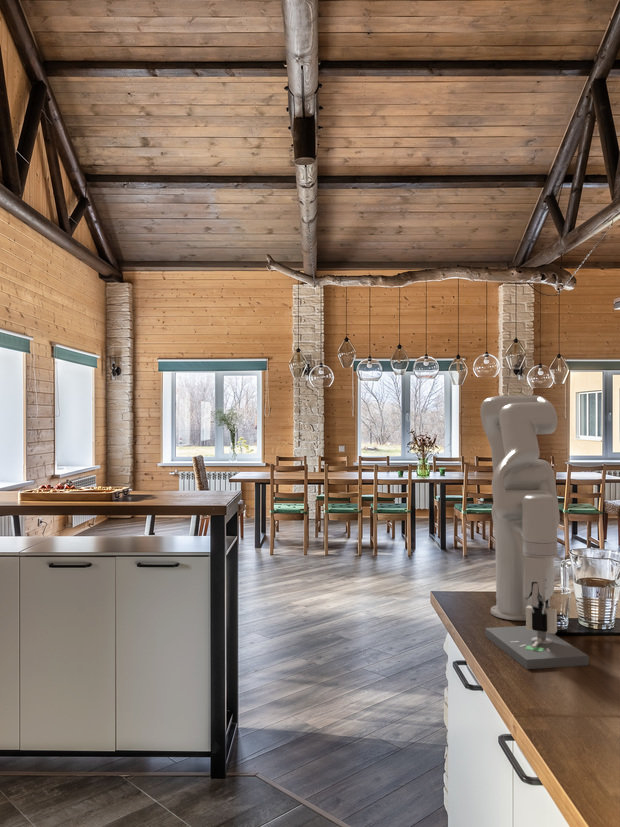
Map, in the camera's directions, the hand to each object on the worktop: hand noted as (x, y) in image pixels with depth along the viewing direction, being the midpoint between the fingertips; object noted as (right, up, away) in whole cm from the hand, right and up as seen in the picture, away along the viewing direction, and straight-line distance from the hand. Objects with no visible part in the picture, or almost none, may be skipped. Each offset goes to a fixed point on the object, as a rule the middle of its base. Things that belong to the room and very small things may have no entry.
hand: (541, 628), depth 153 cm
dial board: (-2, -5, 0) cm, 5 cm away
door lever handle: (-2, -2, -3) cm, 4 cm away
